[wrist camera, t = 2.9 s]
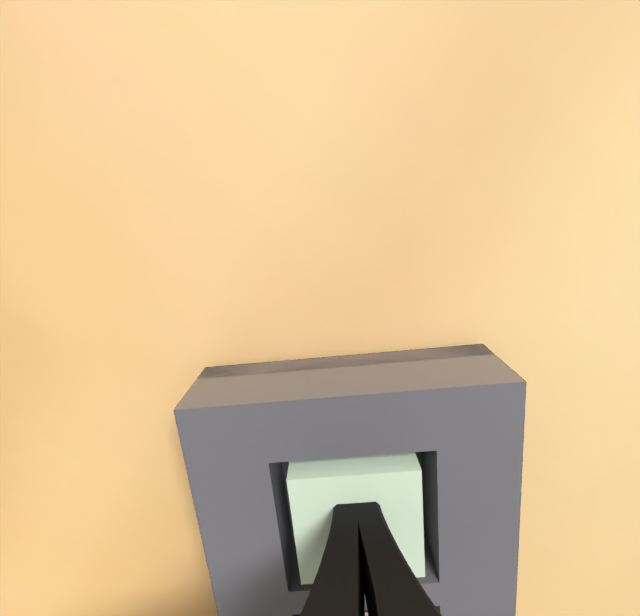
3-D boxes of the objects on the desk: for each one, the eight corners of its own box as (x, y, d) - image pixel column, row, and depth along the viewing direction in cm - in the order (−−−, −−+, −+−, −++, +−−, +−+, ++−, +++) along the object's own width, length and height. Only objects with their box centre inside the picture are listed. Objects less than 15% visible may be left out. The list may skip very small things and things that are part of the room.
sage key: (412, 530, 14) (425, 576, 12) (304, 537, 14) (301, 584, 12) (408, 434, 13) (422, 470, 11) (291, 443, 13) (286, 480, 11)
